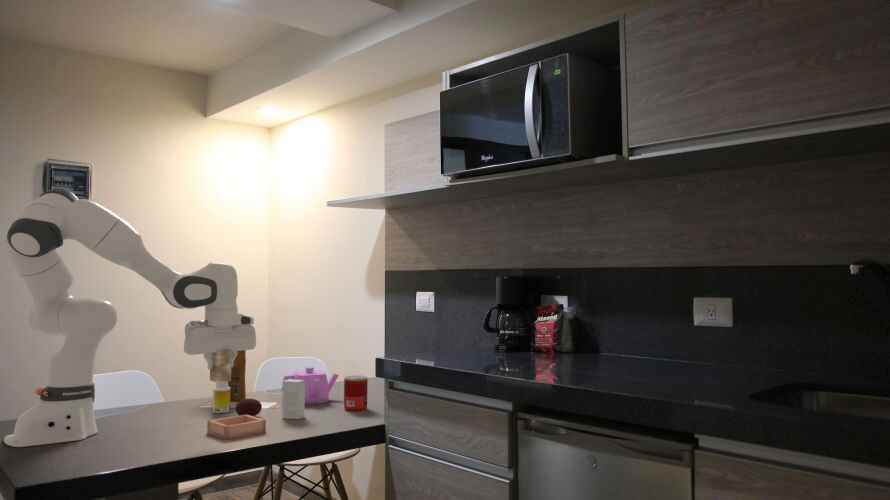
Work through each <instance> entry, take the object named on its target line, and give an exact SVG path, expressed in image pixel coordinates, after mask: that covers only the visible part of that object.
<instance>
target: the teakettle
mask: <svg viewBox="0 0 890 500" xmlns="http://www.w3.org/2000/svg"><path fill="white" fill-rule="evenodd" d="M304 369H305V370H297V371H293V373H292V374H290V375H283V377H282V378H283V379H282V382H283V381H285V380H289V379H290V380H305V405H315V403H318V404H325V403H324V402H327V403H328V402H329V398H330V397H329V396H330V391H331V389H332V388H333V387H334V385H335V382H336V381H337V379H338V378H339V374H336V373H333V374H332V375H331V376H330V378H329V379H328V377H327V374H326V372H325V371H322V370H319V369H316V370H315V367H314V366H309V367H308V366H307V367H305V368H304ZM281 384H282V385H281V391H282V392H283V383H281Z"/></svg>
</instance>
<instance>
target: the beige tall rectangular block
mask: <svg viewBox="0 0 890 500" xmlns="http://www.w3.org/2000/svg"><path fill="white" fill-rule="evenodd" d="M210 359H211V361H212V362H214V363H215V369H209V381H210V382H213V383H215V384H216V383H220V382H228V381H231V349H227V350H217V352H216V353H212V357H210Z"/></svg>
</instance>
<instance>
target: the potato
mask: <svg viewBox="0 0 890 500" xmlns="http://www.w3.org/2000/svg"><path fill="white" fill-rule="evenodd" d="M234 409H235V413H236V414H237V416H240V415H250V416H254V417H256V416H257V415H259V414H260V413H261V411H262V409H263V407H262V403H261V401H260V400H257V399H256V398H246V399H243V400H241V401H238V402H237V403H236V406H235V408H234Z"/></svg>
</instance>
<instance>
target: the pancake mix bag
mask: <svg viewBox="0 0 890 500" xmlns="http://www.w3.org/2000/svg"><path fill="white" fill-rule="evenodd" d="M246 351H247V350H241V351H237V356H236V358H235V360H234V361H233V367H231V381H228V386H229V387H230V401H233V402H240V401H241V400H243V399H247V395H246V393H247V392H246V369H247V368H246V367H247V366H246V364H247V361H246V359H247V357H246Z"/></svg>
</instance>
